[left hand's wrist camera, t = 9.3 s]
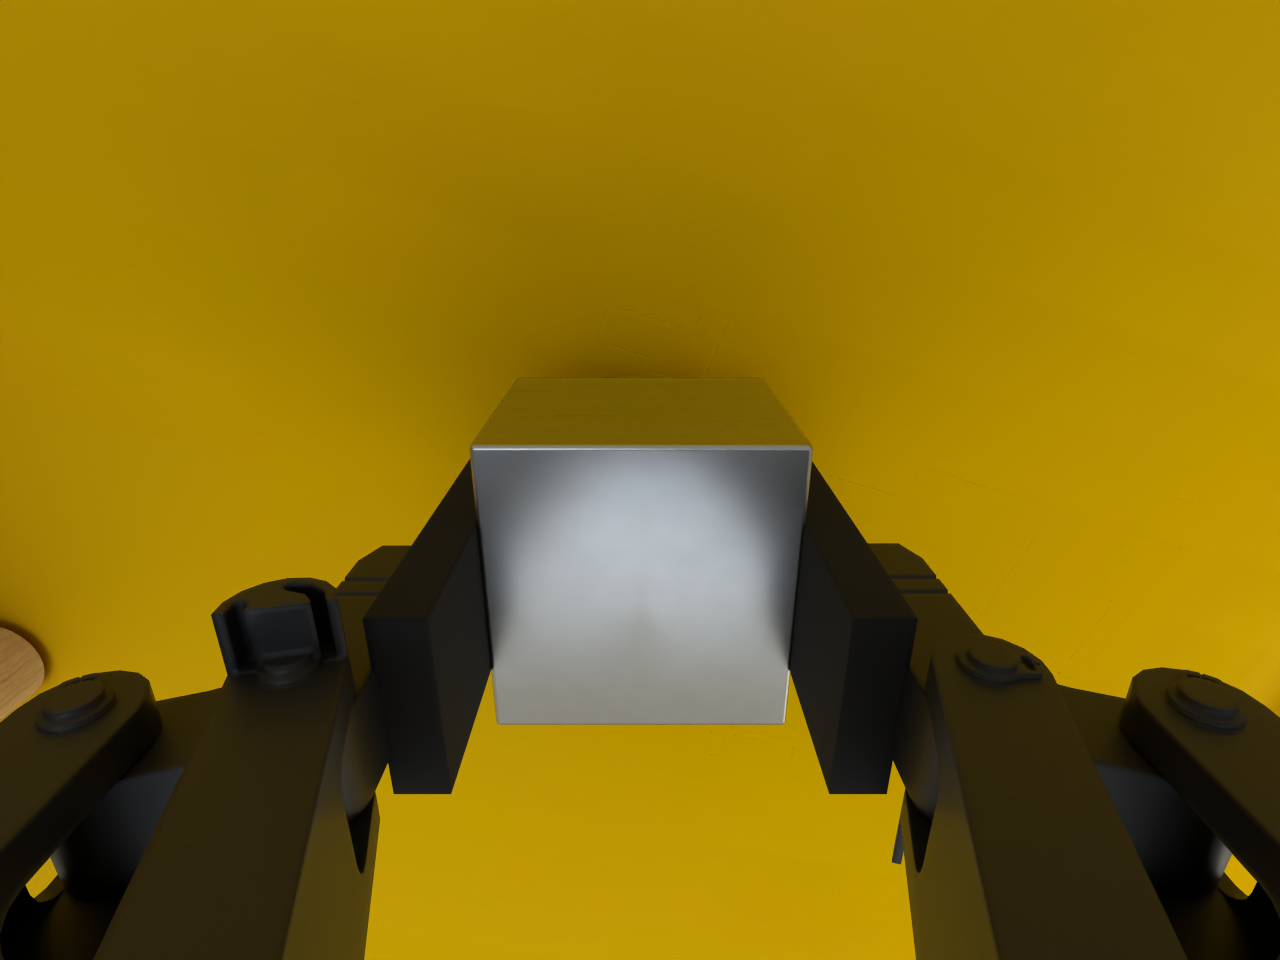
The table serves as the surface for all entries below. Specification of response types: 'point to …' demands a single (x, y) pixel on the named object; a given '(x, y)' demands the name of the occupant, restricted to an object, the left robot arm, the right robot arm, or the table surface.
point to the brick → (640, 550)
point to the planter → (17, 671)
